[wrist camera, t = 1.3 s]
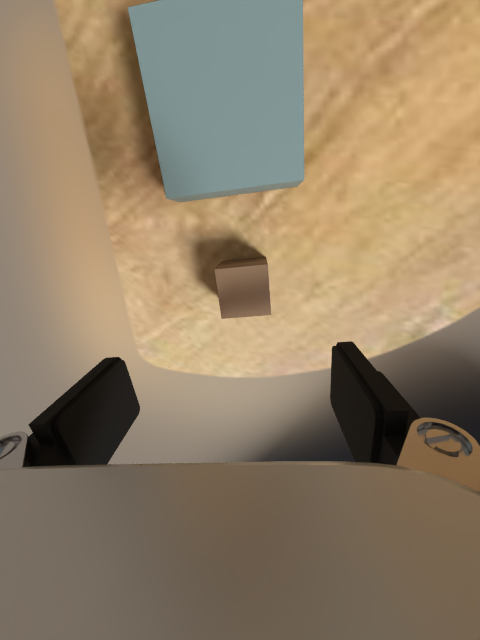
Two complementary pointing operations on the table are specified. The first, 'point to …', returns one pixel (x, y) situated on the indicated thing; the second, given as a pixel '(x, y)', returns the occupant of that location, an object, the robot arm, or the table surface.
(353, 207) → the table surface
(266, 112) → the plinth block
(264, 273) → the walnut cube
